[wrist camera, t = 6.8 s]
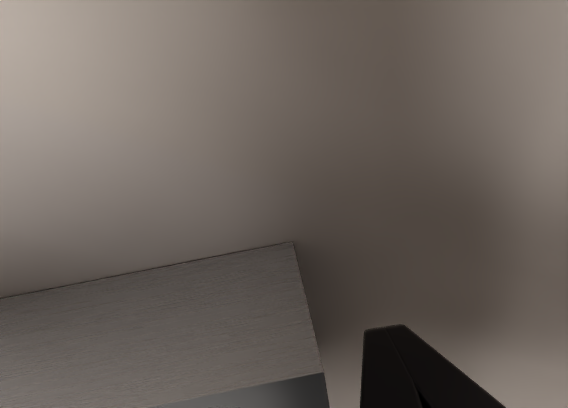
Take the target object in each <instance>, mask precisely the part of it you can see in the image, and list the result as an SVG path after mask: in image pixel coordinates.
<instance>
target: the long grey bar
mask: <svg viewBox="0 0 568 408" xmlns="http://www.w3.org/2000/svg"><path fill="white" fill-rule="evenodd" d="M0 408H330V407H329V401H328V395H327V389H326V383H325V377H324V371H323V367H322V363H321V358H320V354H319V350H318V346H317V342H316V337H315V333H314V329H313V325H312V321H311V316H310V312H309V308H308V304H307V300H306V296H305V291H304V287H303V283H302V279H301V275H300V270H299V266H298V262H297V258H296V254H295V249H294V245H293V242H289V243H284V244H279V245H273V246H268V247H263V248H258V249H253V250H248V251H243V252H238V253H233V254H227V255H222V256H217V257H212V258H207V259H202V260H197V261H192V262H186V263H181V264H176V265H171V266H166V267H161V268H156V269H151V270H146V271H140V272H135V273H130V274H125V275H120V276H115V277H110V278H105V279H99V280H94V281H89V282H84V283H79V284H74V285H69V286H64V287H59V288H53V289H48V290H43V291H38V292H33V293H28V294H23V295H18V296H12V297H7V298H2V299H0Z"/></svg>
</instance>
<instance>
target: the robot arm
mask: <svg viewBox="0 0 568 408" xmlns="http://www.w3.org/2000/svg"><path fill="white" fill-rule="evenodd" d="M360 408H506V407H505V406H504V405H502V404H501V403H500V402H499V401H497V400H496V399H495V398H494V397H492V396H491V395H490V394H489V393H488V392H486V391H485V390H484V389H483V388H481V387H480V386H479V385H478V384H477V383H475V382H474V381H473V380H472V379H470V378H469V377H468V376H467V375H465V374H464V373H463V372H462V371H461V370H459V369H458V368H457V367H456V366H454V365H453V364H452V363H451V362H449V361H448V360H447V359H446V358H445V357H443V356H442V355H441V354H440V353H438V352H437V351H436V350H435V349H434V348H432V347H431V346H430V345H429V344H427V343H426V342H425V341H424V340H422V339H421V338H420V337H419V336H418V335H416V334H415V333H414V332H413V331H411V330H410V329H409V328H408V327H406V326H405V325H402V324H399V325H392V326H386V327H379V328H373V329H367V330H365V332H364V341H363V359H362V377H361V396H360Z"/></svg>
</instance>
